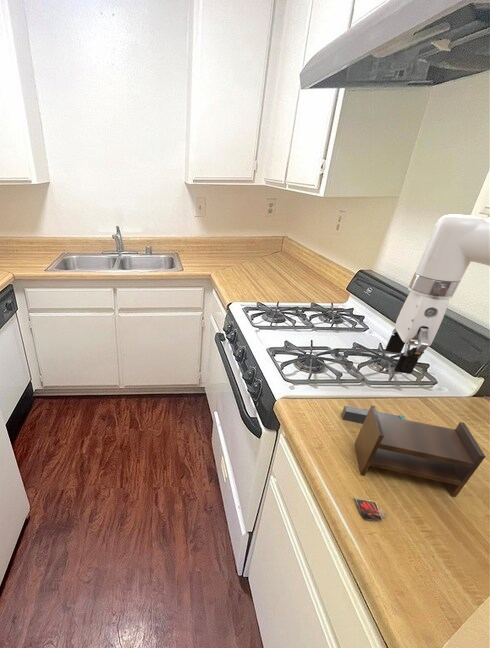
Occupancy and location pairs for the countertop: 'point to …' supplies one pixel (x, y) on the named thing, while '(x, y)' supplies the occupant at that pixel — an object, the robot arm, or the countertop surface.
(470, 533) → the countertop surface
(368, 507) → the matchbox
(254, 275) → the countertop surface
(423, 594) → the countertop surface
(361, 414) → the marker pen
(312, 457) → the countertop surface
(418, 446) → the desk shelf
